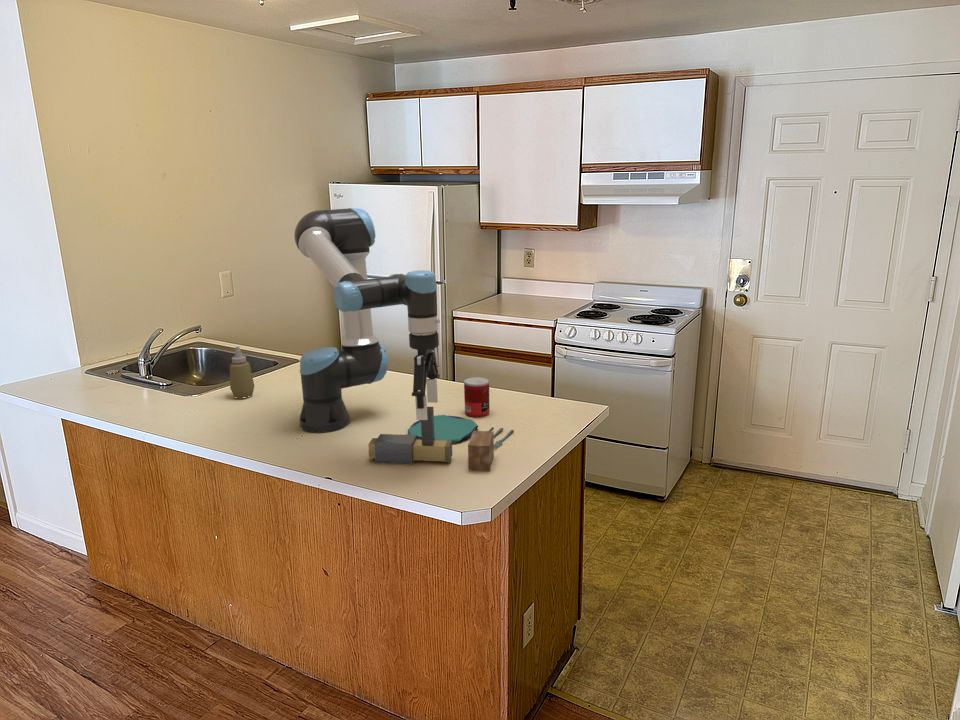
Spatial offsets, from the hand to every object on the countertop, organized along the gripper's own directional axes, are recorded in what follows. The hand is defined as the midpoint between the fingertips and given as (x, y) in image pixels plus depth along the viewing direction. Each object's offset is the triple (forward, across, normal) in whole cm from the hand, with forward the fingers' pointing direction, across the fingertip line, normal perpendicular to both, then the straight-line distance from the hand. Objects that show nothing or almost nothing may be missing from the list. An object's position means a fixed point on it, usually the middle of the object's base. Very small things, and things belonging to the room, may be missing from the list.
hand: (427, 410), depth 180 cm
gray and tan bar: (+14, 0, +5) cm, 15 cm away
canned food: (+14, +37, -8) cm, 41 cm away
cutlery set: (+15, +19, -4) cm, 25 cm away
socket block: (+14, 0, -14) cm, 20 cm away
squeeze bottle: (+13, +47, +76) cm, 91 cm away
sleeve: (+14, 0, +9) cm, 17 cm away
